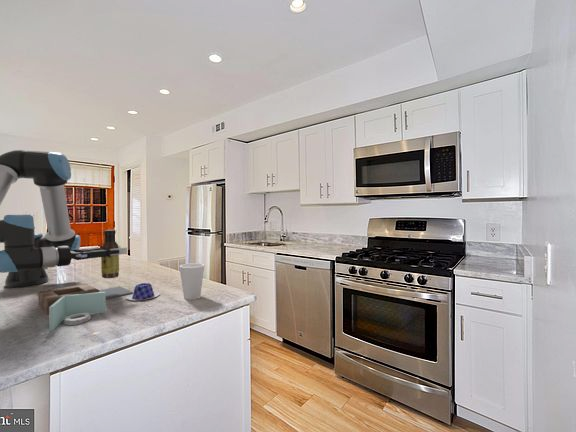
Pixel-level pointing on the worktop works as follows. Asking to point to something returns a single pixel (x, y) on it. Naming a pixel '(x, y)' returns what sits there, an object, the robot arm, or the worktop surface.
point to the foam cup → (192, 280)
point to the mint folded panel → (76, 308)
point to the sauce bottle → (110, 264)
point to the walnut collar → (62, 294)
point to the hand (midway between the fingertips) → (123, 249)
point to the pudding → (143, 292)
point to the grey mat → (115, 292)
